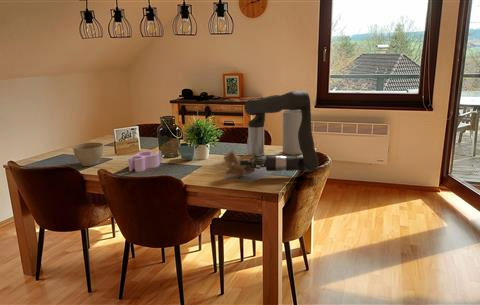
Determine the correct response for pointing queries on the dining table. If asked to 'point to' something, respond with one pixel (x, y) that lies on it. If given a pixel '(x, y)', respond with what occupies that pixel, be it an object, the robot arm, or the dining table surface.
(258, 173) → the felt board
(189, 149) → the flower pot
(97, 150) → the planter bowl
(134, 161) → the clip
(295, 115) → the cylinder vase
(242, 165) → the two dot tile
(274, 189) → the dining table surface
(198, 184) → the dining table surface
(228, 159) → the one dot tile
